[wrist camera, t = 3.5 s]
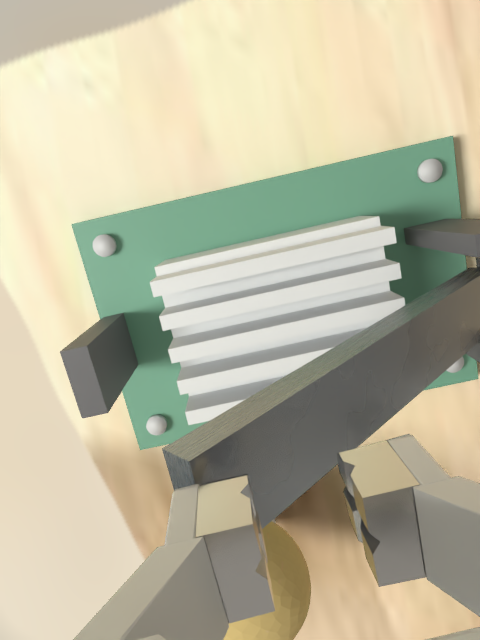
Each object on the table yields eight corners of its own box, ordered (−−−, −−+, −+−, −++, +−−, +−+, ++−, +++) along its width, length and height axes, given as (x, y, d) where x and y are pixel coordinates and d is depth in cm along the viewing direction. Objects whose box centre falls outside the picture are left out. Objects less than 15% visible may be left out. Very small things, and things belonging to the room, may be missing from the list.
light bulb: (227, 439, 29) (224, 556, 19) (311, 485, 29) (349, 619, 20) (177, 514, 30) (150, 660, 20) (259, 556, 31) (270, 716, 21)
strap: (479, 255, 20) (504, 253, 19) (485, 320, 21) (510, 320, 20) (159, 438, 9) (185, 450, 9) (193, 556, 10) (221, 577, 9)
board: (445, 138, 25) (551, 101, 16) (471, 374, 28) (570, 441, 20) (76, 224, 25) (1, 229, 17) (142, 443, 29) (106, 535, 20)
